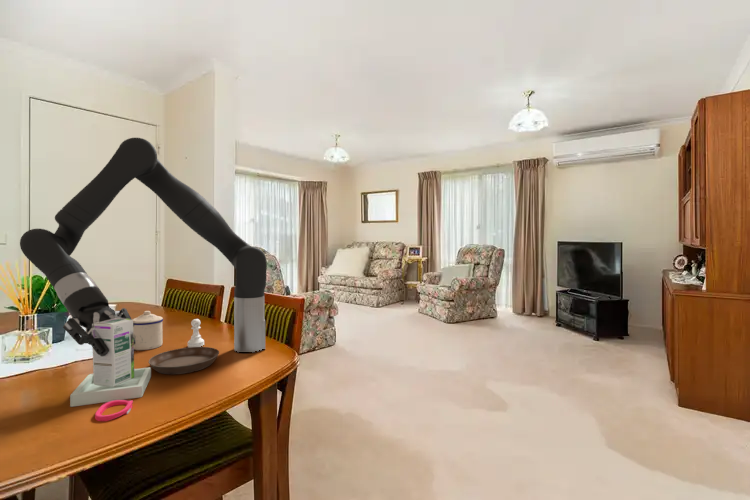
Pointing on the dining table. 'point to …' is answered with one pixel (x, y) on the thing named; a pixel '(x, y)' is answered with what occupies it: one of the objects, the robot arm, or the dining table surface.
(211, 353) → the plant saucer
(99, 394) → the tray
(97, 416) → the fitness band
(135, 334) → the teacup with lid
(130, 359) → the syrup box
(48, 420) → the dining table surface
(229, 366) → the dining table surface
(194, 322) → the chess pawn
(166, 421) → the dining table surface
